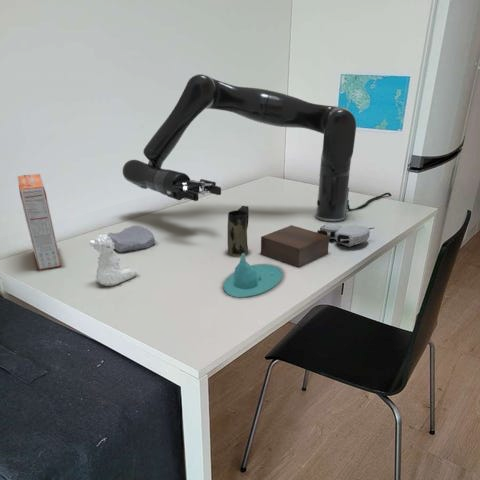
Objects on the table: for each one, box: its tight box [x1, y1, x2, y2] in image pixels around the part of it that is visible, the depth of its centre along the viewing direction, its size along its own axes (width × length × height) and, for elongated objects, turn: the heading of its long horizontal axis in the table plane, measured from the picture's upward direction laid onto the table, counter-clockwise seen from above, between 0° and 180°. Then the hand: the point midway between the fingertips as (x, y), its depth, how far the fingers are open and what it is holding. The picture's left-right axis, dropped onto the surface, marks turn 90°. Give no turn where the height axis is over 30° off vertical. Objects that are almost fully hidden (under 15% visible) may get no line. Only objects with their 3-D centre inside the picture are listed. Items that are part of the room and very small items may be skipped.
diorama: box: [223, 253, 283, 299], centre depth 115 cm, size 12×20×9 cm, turn 151°
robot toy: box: [316, 222, 376, 248], centre depth 139 cm, size 12×4×15 cm
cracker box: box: [17, 173, 62, 271], centre depth 123 cm, size 14×6×21 cm, turn 23°
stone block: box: [107, 224, 156, 253], centre depth 136 cm, size 12×5×10 cm
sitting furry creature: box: [88, 233, 138, 287], centre depth 114 cm, size 10×9×12 cm
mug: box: [227, 205, 250, 257], centre depth 130 cm, size 8×6×12 cm
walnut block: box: [260, 224, 330, 268], centre depth 130 cm, size 13×13×5 cm
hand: (209, 194), depth 133 cm, fingers open, 8 cm apart
